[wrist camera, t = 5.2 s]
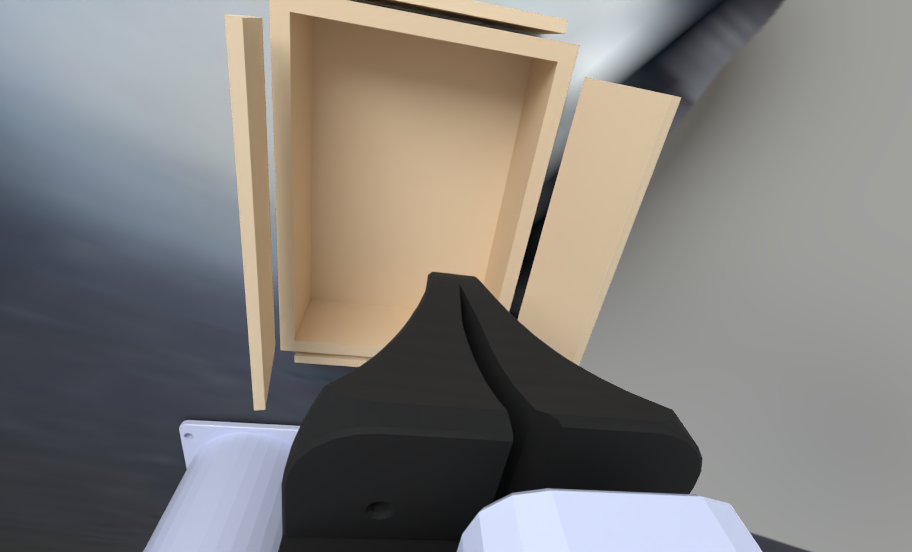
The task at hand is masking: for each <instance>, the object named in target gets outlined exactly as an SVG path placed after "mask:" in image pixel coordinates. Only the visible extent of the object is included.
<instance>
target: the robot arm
mask: <svg viewBox="0 0 912 552" xmlns="http://www.w3.org/2000/svg"><path fill="white" fill-rule="evenodd" d="M179 431H180V436H181V442H182V447H183V452H184V457H185V463H186V468H187V470H186V472H185V474H184V476H183V478H182V480H181V482H180V484H179V485H178V487H177V489H176V491H175V493H174V495H173V497H172V499H171V501H170V502H169V504H168V506H167V508H166V510H165V512H164V514H163V516H162V517H161V519H160V521H159V523H158V525H157V527H156V529H155V531H154V532H153V534H152V536H151V538H150V540H149V542H148V544H147V546H146V548H145V549H144V551H143V552H762V550H761V549H760V547H759V546H758V544H757V543H756V541H755V540H754V539H753V537H752V536H751V534H750V533H749V531H748V530H747V528H746V527H745V525H744V524H743V522H742V521H741V519H740V518H739V517H738V515H737V514H736V512H735V510H734V509H733V507H732V506H731V504H729V503H725V502H721V501H717V500H714V499H710V498H706V497H703V496H699V495H694V494H690V492H691V490H692V489H693V488H694V486H695V483H696V481H697V479H698V477H699V475H700V472H701V467H702V457H701V454H700V451H699V448H698V446H697V445H696V443H695V442H694V440H693V439H692V437H691V436H690V434H689V433H688V431H687V430H686V428H685V427H684V426H683V424H682V423H681V422H680V420H679V418H678V417H677V415H676V414H675V413H674V411H673V410H671V409H669V408H666V407H664V406H662V405H659V404H657V403H654V402H652V401H649V400H647V399H644V398H642V397H639V396H637V395H635V394H632V393H630V392H628V391H625V390H623V389H621V388H619V387H617V386H615V385H613V384H611V383H609V382H607V381H605V380H603V379H601V378H599V377H597V376H596V375H594V374H592V373H590V372H588V371H586V370H585V369H583V368H582V367H580V366H578V365H577V364H575V363H573V362H572V361H570V360H568V359H567V358H565V357H564V356H562V355H561V354H559V353H558V352H556V351H555V350H554V349H552V348H551V347H550V346H548V345H547V344H546V343H544V342H543V341H541V340H540V339H539V338H538V337H536V336H535V335H534V334H533V333H531V332H530V331H529V330H528V329H527V328H526V327H525V326H524V325H522V324H521V323H520V322H519V321H518V320H517V319H516V318H515V317H514V316H513V315H512V314H511V313H510V312H509V311H508V310H507V309H506V308H505V307H504V306H503V305H502V304H501V303H500V302H499V301H498V300H497V299H496V298H495V297H494V296H493V294H492V293H491V292H490V291H489V290H488V289H487V288H486V287H485V286H484V285H483V284H482V282H481V281H480V280H479V279H478V278H477V277H475V276H467V275H458V274H450V273H441V272H431V273H430V274H428V278H427V284H426V290H425V293H424V295H423V297H422V299H421V301H420V303H419V304H418V306H417V308H416V309H415V311H414V312H413V314H412V315H411V317H410V318H409V320H408V321H407V323H406V324H405V325H404V326H403V328H402V329H401V330H400V331H399V332H398V334H397V335H396V336H395V337H394V338H393V339H392V340H391V341H390V342H389V343H388V344H387V345H386V346H385V347H384V348H383V349H382V350H381V351H379V352H378V353H377V354H376V355H375V356H373V357H372V358H371V359H369V360H368V361H367V362H365V363H364V364H362V365H361V366H360V367H358V368H357V369H356V370H354V371H353V372H351V373H349V374H347V375H345V376H344V377H342V378H340V379H338V380H336V381H334V382H332V383H330V384H328V385H326V386H325V387H324V388H323V389H322V390H321V392H320V393H319V395H318V397H317V398H316V400H315V401H314V403H313V404H312V406H311V408H310V409H309V411H308V413H307V414H306V416H305V418H304V420H303V422H302V424H301V426H293V425H274V424H255V423H236V422H217V421H199V420H186V421H183V422H182V424H181V425H180V427H179Z"/></svg>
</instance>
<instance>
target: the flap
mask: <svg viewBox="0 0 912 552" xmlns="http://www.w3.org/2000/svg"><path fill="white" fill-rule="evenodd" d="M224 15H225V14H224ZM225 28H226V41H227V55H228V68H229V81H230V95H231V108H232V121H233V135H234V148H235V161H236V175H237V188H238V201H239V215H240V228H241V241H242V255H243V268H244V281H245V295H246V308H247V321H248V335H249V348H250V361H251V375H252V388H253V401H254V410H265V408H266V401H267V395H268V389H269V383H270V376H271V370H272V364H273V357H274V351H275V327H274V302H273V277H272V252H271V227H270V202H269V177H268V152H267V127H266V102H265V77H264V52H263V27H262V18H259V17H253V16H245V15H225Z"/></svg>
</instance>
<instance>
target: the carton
mask: <svg viewBox="0 0 912 552" xmlns="http://www.w3.org/2000/svg"><path fill="white" fill-rule="evenodd" d="M365 1H370V2H375V3H380V4H386V5H391V6H396V7H401V8H406V9H411V10H416V11H421V12H426V13H432V14H437V15H442V16H447V17H452V18H457V19H462V20H467V21H473V22H478V23H483V24H488V25H493V26H498V27H503V28H508V29H513V30H519V31H524V32H529V33H534V34H565V31H566V27H567V23H568V20H567V19H562V18H557V17H552V16H547V15H542V14H537V13H532V12H527V11H522V10H517V9H512V8H508V7H503V6H498V5H493V4H488V3H483V2H478V1H473V0H365ZM269 10H270V40H271V71H272V101H273V132H274V162H275V192H276V223H277V253H278V284H279V314H280V345H281V350H285V351H296V353H295V355H294V357H295V362H297V363H311V364H324V365H338V366H352V367H360V366H361V365H362V364H364V363H365V362H367V361H368V360H369V359H371V358H372V357H373V356H375V355H376V354H377V353H378V352H379V351H381V350H382V349H383V348H384V347H385V346H386V345H387V344H388V343H389V342H390V341H391V340H392V339H393V338H394V337H395V336H396V335H397V334H398V332H399V331H400V330H401V329H402V328H403V326H404V325H405V324H406V323H407V321H408V320H409V318H410V317H411V315H412V314H413V312H414V311H415V309H416V308H417V306H418V304H419V303H420V301H421V299H422V297H423V295H424V293H425V290H426V284H427V278H428V274H430V273H431V272H441V273H450V274H458V275H467V276H475V277H477V278H478V279H479V280H480V281H481V282H482V284H483V285H484V286H485V287H486V288H487V289H488V290H489V291H490V292H491V293H492V294H493V296H494V297H495V298H496V299H497V300H498V301H499V302H500V303H501V304H502V305H503V306H504V307H505V308H506V309H507V310H508V311H510V307H511V304H512V300H513V296H514V292H515V288H516V285H517V281H518V277H519V273H520V269H521V266H522V262H523V258H524V254H525V251H526V247H527V243H528V239H529V235H530V232H531V228H532V224H533V220H534V216H535V213H536V209H537V205H538V201H539V198H540V194H541V190H542V186H543V182H544V179H545V175H546V171H547V167H548V163H549V160H550V156H551V152H552V148H553V145H554V141H555V137H556V133H557V129H558V126H559V122H560V118H561V114H562V111H563V107H564V103H565V99H566V95H567V92H568V88H569V84H570V80H571V76H572V73H573V69H574V65H575V61H576V58H577V54H578V50H579V46H580V45H575V44H570V43H565V42H560V41H555V40H550V39H544V38H539V37H534V36H529V35H524V34H519V33H514V32H508V31H503V30H498V29H493V28H488V27H483V26H478V25H472V24H467V23H462V22H457V21H452V20H447V19H442V18H436V17H431V16H426V15H421V14H416V13H411V12H406V11H400V10H395V9H390V8H385V7H380V6H375V5H370V4H364V3H359V2H354V1H349V0H269Z"/></svg>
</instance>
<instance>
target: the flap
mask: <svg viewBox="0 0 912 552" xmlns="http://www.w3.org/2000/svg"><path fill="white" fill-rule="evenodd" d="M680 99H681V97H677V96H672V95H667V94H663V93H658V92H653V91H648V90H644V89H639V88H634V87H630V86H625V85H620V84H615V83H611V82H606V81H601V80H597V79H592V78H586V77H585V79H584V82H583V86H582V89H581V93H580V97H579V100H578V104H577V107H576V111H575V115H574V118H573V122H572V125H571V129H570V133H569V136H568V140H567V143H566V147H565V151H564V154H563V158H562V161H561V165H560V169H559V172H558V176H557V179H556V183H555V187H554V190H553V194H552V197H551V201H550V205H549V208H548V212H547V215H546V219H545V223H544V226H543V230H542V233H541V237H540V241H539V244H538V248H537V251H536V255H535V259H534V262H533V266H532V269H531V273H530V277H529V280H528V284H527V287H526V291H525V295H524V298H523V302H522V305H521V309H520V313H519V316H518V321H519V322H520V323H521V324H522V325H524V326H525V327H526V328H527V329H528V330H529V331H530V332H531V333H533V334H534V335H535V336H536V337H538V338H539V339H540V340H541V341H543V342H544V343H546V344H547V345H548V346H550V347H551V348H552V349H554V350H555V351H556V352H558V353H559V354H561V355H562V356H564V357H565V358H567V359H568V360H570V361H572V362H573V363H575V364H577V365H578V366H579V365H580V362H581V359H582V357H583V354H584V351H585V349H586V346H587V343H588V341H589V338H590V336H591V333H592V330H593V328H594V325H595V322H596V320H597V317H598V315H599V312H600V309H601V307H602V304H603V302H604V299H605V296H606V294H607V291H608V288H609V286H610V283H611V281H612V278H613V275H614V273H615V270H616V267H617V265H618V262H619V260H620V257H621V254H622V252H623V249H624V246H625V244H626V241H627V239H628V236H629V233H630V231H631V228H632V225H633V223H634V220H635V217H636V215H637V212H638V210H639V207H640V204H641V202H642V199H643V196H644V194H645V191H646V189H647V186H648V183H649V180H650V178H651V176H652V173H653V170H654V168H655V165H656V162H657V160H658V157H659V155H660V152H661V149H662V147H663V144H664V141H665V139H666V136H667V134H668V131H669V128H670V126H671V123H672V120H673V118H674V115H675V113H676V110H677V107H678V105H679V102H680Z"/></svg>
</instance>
